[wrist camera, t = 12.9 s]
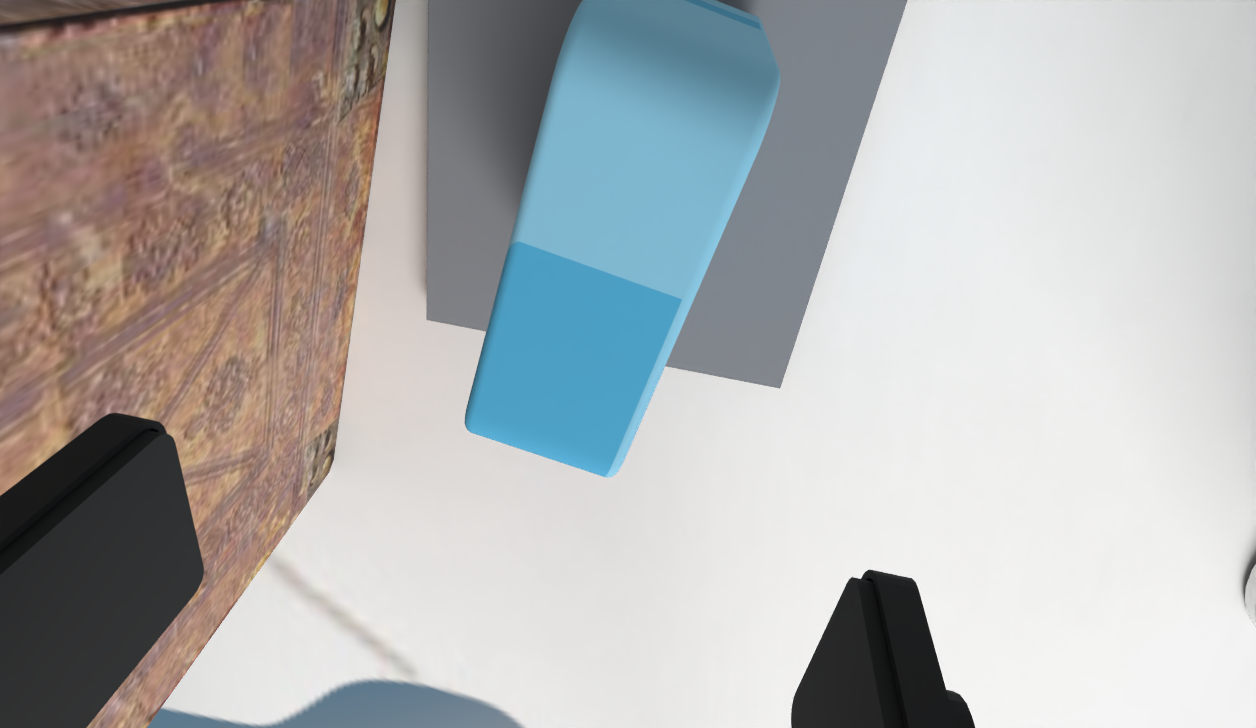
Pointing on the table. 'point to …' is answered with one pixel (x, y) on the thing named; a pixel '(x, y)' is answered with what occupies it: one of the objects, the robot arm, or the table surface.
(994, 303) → the table surface
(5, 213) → the book
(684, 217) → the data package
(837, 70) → the charging mat
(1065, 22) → the table surface
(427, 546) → the table surface
